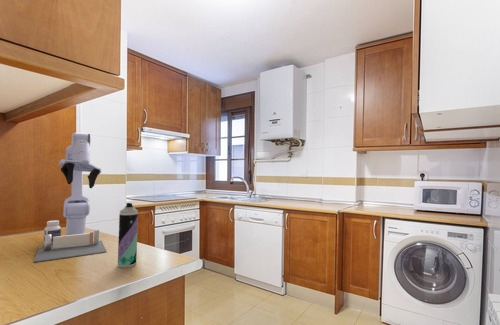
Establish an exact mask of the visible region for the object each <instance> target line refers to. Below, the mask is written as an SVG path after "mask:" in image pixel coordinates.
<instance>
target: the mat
mask: <svg viewBox="0 0 500 325" xmlns="http://www.w3.org/2000/svg"><path fill="white" fill-rule="evenodd" d="M104 253H108V252H107V249H106V246H105V245H104V243H103V241H102V240H99V243H98V244H96V245H94V240H93V244H82V245H74V246H66V247H58V248H53V246H51V250H49V251H44V246H43V247H38V248H37V252H36V254H35V257H34V259H33V262H32V263H33V264H35V263H40V262H41V263H42V262H48V261H56V260H64V259H71V258H77V257H83V256H88V255H89V256H90V255H91V256H92V255H97V254H98V255H99V254H104Z"/></svg>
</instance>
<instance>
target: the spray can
mask: <svg viewBox="0 0 500 325" xmlns="http://www.w3.org/2000/svg"><path fill="white" fill-rule="evenodd" d="M138 211H139V210H138V209H136V208H135V207H134V205H133V203H131V202H126V204H125V206H124V208H122V209H120V210H119V214H118V215H119V217H118V218H119V220H118V244H117V245H118V248H117V249H118V250H117V267H118V268H121V269H126V268H132V267H134V266H136V265H137V258H138V257H137V256H138V255H137V250H138V225H139V224H138V222H139V221H138V219H139V212H138Z"/></svg>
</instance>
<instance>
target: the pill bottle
mask: <svg viewBox="0 0 500 325" xmlns="http://www.w3.org/2000/svg"><path fill="white" fill-rule="evenodd" d="M61 233H62V227H61V226H60V220H54V219H53V220H48V221H46V227H44V230H43V247H44V246H45V235H47V234H52V240H51V246H53V237H56V236H62V234H61Z"/></svg>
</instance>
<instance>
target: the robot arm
mask: <svg viewBox="0 0 500 325" xmlns="http://www.w3.org/2000/svg"><path fill="white" fill-rule="evenodd" d="M91 138H92V137H91V134H90V133H87V132H86V133H85V132H74V133H71V144H70V145H67V147H66V148H65V159H63V158H61V159H60V160H59V163H58V166H59V167H61V168H60V172H61V173H62V174H63V175H64V177H65V179H66V182H67V183H66V184H68V185H71V190H70V191H71V195H70V196H68V197H67V198H65V199H64V201H63V214H62V215H63V217H64V218H66V224H65V225H66V227H65V234H64V236H66V235H76V234H86V233H87V232H86V220H87V219H86V218H87V217H88V216H89V215H90V200H89V198H88V197H86V196H85V195H83V172H84V173H85V172H86V173H87V172H88V173H89V174H88V175H87V179H88V187H89V189H93V187H95V183H96V180H97V179H98V176H99V175H100V174H101V173H102V168H101V167H97V166H96V165H93V164H92V163H90V162H91V161H90V158H91V157H90V154H91V153H90V152H91V151H90V146H91V141H92V140H91Z"/></svg>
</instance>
